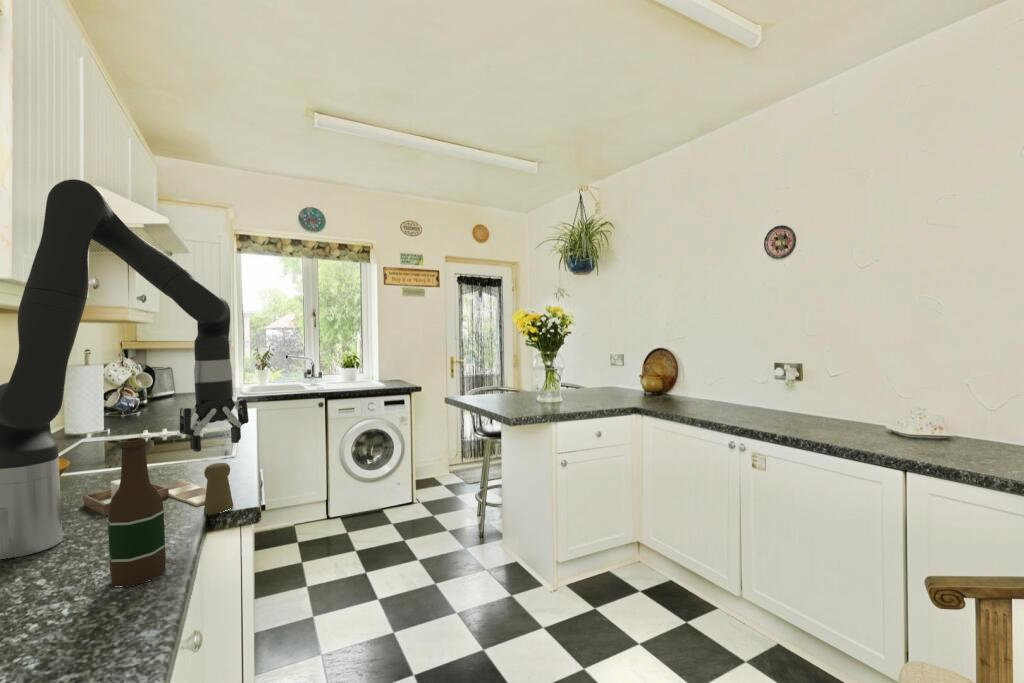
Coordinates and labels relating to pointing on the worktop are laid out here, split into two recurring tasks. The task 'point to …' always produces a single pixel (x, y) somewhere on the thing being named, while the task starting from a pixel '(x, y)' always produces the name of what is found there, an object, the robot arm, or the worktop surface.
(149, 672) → the worktop surface
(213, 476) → the cork
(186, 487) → the board
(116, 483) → the die
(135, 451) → the beer bottle
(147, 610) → the worktop surface
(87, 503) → the dice tray
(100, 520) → the worktop surface
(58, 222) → the robot arm
